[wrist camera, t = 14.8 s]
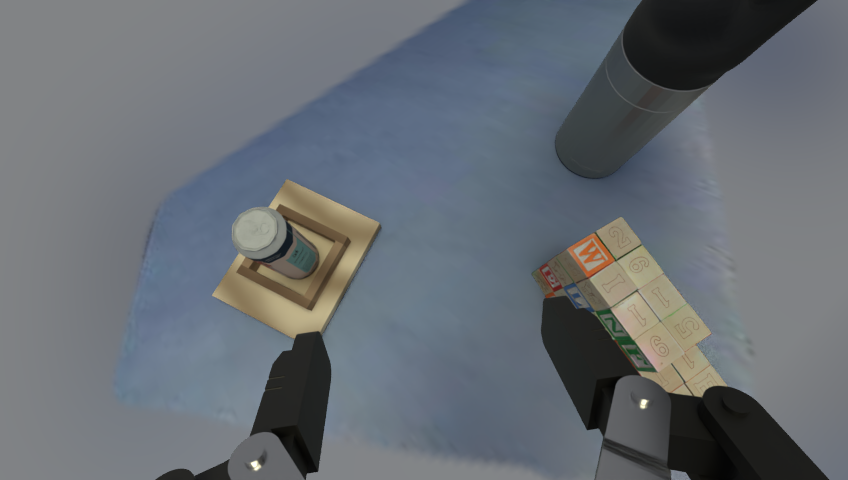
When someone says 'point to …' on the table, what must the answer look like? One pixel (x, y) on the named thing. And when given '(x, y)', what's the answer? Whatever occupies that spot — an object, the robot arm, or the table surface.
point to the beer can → (274, 243)
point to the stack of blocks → (634, 307)
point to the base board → (325, 287)
